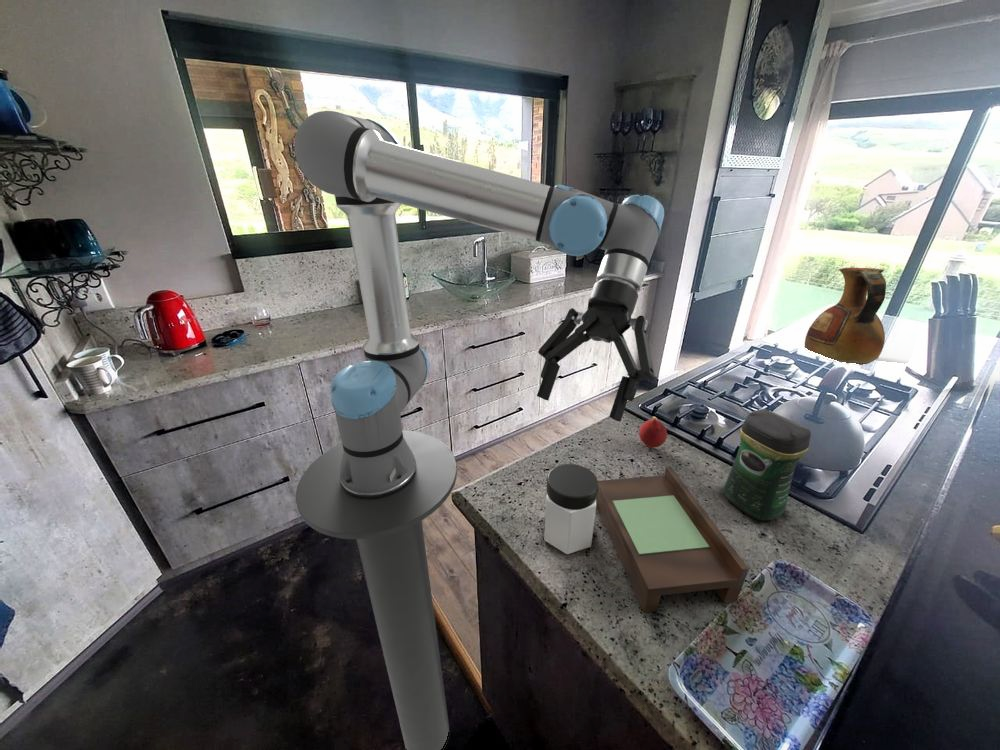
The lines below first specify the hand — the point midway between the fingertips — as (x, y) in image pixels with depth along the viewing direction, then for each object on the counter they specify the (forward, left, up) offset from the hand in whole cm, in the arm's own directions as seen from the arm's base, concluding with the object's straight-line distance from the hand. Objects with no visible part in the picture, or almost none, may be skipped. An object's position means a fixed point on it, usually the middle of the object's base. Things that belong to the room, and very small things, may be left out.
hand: (576, 408), depth 65 cm
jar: (+5, -1, -22) cm, 23 cm away
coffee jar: (+2, +35, -22) cm, 41 cm away
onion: (-17, +24, -22) cm, 36 cm away
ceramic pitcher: (-55, +106, -22) cm, 121 cm away
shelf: (+9, +13, -22) cm, 27 cm away
